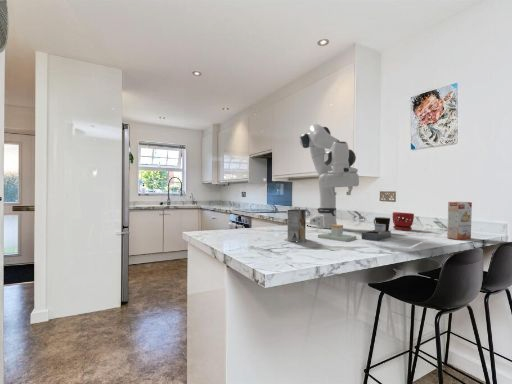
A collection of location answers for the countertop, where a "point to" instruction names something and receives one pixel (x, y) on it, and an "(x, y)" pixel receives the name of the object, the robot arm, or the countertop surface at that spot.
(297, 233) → the coffee box
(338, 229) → the plug
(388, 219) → the coffee mug
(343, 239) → the tray
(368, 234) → the power strip
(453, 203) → the cracker box
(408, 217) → the plant pot
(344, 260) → the countertop surface
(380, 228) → the twin plug
